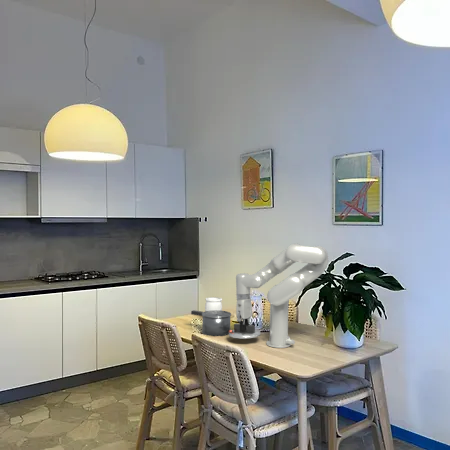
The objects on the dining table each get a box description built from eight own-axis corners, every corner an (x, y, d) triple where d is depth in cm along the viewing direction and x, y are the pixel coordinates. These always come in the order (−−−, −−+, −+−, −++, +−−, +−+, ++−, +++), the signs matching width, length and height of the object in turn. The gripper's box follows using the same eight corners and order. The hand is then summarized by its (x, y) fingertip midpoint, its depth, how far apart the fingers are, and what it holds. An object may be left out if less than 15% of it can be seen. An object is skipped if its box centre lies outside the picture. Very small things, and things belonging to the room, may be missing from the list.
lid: (265, 332, 242) (265, 323, 242) (251, 340, 228) (250, 329, 228) (238, 329, 251) (238, 320, 251) (222, 336, 237) (222, 326, 237)
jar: (222, 320, 287) (222, 297, 286) (220, 324, 276) (221, 300, 276) (206, 319, 288) (206, 296, 287) (203, 323, 277) (204, 299, 277)
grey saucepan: (236, 331, 260) (236, 312, 260) (220, 338, 245) (221, 318, 245) (200, 325, 273) (200, 307, 273) (183, 331, 259) (183, 312, 259)
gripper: (242, 299, 231) (243, 335, 231) (256, 294, 244) (257, 328, 245) (229, 298, 234) (230, 333, 235) (244, 293, 248) (245, 327, 249)
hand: (244, 330), depth 240 cm, fingers closed on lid, 3 cm apart
